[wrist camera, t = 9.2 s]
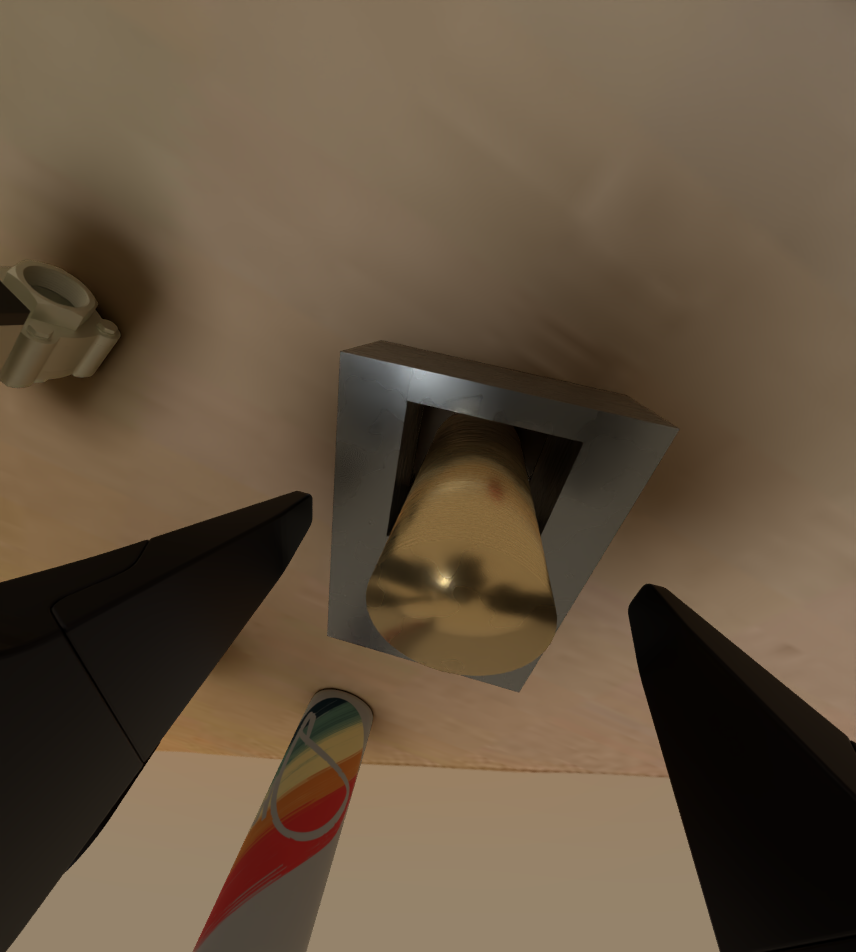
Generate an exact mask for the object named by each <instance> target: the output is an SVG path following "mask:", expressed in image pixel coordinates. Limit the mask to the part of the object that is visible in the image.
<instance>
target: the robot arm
mask: <svg viewBox="0 0 856 952" xmlns="http://www.w3.org/2000/svg"><path fill="white" fill-rule="evenodd" d="M311 523H312V496H311V495H310V494H308V493H304V492H300V491H294V492H291V493H288V494H285V495H282V496H279V497H276V498H273V499H270V500H267V501H264V502H261V503H258V504H255V505H252V506H249V507H245V508H242V509H239V510H236V511H233V512H230V513H227V514H224V515H221V516H218V517H215V518H212V519H209V520H206V521H203V522H199V523H196V524H193V525H190V526H187V527H184V528H181V529H178V530H175V531H172V532H169V533H166V534H163V535H160V536H157V537H154V538H151V539H150V540H144V541H141V542H138V543H135V544H132V545H129V546H126V547H123V548H119V549H116V550H113V551H110V552H107V553H103V554H100V555H97V556H94V557H90V558H87V559H83V560H80V561H76V562H73V563H69V564H66V565H62V566H59V567H55V568H52V569H48V570H44V571H41V572H37V573H33V574H30V575H26V576H22V577H19V578H15V579H11V580H8V581H4V582H0V952H6V951H7V949H8V948H9V947H10V946H11V944H12V943H13V942H14V941H15V939H16V938H17V937H18V935H19V934H20V933H21V931H22V930H23V929H24V927H25V926H26V925H27V923H28V922H29V920H30V919H31V917H32V916H33V915H34V914H35V912H36V911H37V909H38V908H39V907H40V905H41V904H42V903H43V901H44V900H45V898H46V897H47V896H48V894H49V893H50V892H51V890H52V889H53V887H54V886H55V885H56V883H57V882H58V881H59V879H60V878H61V877H62V875H63V874H64V873H65V872H66V871H67V870H68V869H69V868H70V867H71V866H72V865H73V864H74V863H75V862H76V861H77V860H78V859H79V857H80V856H81V855H82V854H83V853H84V852H85V851H86V850H87V848H88V847H89V846H90V845H91V843H92V842H93V841H94V840H95V838H96V837H97V836H98V835H99V833H100V832H101V831H102V829H103V828H104V826H105V825H106V824H107V822H108V821H109V819H110V818H111V816H112V815H113V813H114V812H115V810H116V809H117V807H118V806H119V804H120V803H121V801H122V799H123V798H124V797H125V795H126V794H127V792H128V791H129V789H130V788H131V786H132V784H133V783H134V781H135V780H136V778H137V777H138V775H139V774H140V772H141V771H142V769H143V768H144V766H145V765H146V763H147V762H148V760H149V759H150V757H151V756H152V754H153V753H154V751H155V750H156V748H157V747H158V745H159V744H160V741H161V739H162V738H163V737H164V735H165V734H166V733H167V731H168V730H169V729H170V727H171V726H172V724H173V723H174V722H175V720H176V719H177V718H178V716H179V715H180V714H181V712H182V711H183V709H184V708H185V707H186V705H187V704H188V703H189V701H190V700H191V698H192V697H193V696H194V694H195V693H196V692H197V690H198V689H199V688H200V686H201V685H202V683H203V682H204V681H205V679H206V678H207V677H208V675H209V674H210V672H211V671H212V670H213V668H214V667H215V666H216V664H217V663H218V662H219V660H220V659H221V657H222V656H223V655H224V653H225V652H226V651H227V649H228V648H229V647H230V645H231V644H232V642H233V641H234V640H235V638H236V637H237V636H238V634H239V633H240V631H241V630H242V629H243V627H244V626H245V625H246V623H247V622H248V621H249V619H250V618H251V616H252V615H253V614H254V612H255V611H256V610H257V608H258V607H259V606H260V604H261V603H262V601H263V600H264V599H265V597H266V596H267V595H268V593H269V592H270V590H271V589H272V588H273V586H274V585H275V584H276V582H277V581H278V580H279V578H280V577H281V575H282V574H283V572H284V571H285V569H286V567H287V566H288V564H289V562H290V561H291V559H292V557H293V555H294V554H295V552H296V550H297V548H298V547H299V545H300V543H301V541H302V540H303V538H304V536H305V534H306V533H307V531H308V529H309V527H310V525H311ZM628 615H629V621H630V626H631V631H632V637H633V642H634V648H635V653H636V659H637V664H638V669H639V673H640V677H641V681H642V685H643V688H644V692H645V695H646V698H647V702H648V705H649V709H650V712H651V716H652V719H653V723H654V726H655V730H656V733H657V736H658V740H659V743H660V747H661V750H662V754H663V757H664V761H665V764H666V768H667V771H668V774H669V778H670V781H671V785H672V788H673V792H674V795H675V799H676V802H677V806H678V809H679V812H680V816H681V819H682V823H683V826H684V830H685V833H686V836H687V840H688V844H689V847H690V850H691V853H692V857H693V861H694V864H695V868H696V871H697V875H698V878H699V882H700V885H701V888H702V892H703V895H704V898H705V902H706V906H707V909H708V913H709V916H710V920H711V923H712V926H713V930H714V933H715V937H716V940H717V944H718V947H719V951H720V952H856V743H855V742H854V741H850V740H849V738H848V737H847V736H846V735H845V734H844V733H843V732H842V731H840V730H839V729H838V728H837V727H835V726H834V725H833V724H832V723H831V722H829V721H828V720H827V719H826V718H824V717H823V716H822V715H821V714H819V713H818V712H817V711H816V710H815V709H813V708H812V707H811V706H810V705H808V704H807V703H806V702H805V701H804V700H802V699H801V698H800V697H799V696H797V695H796V694H795V693H794V692H793V691H791V690H790V689H789V688H788V687H786V686H785V685H784V684H783V683H781V682H780V681H779V680H778V679H777V678H775V677H774V676H773V675H772V674H770V673H769V672H768V671H767V670H766V669H764V668H763V667H762V666H761V665H759V664H758V663H757V662H756V661H754V660H753V659H752V658H751V657H750V656H748V655H747V654H746V653H745V652H743V651H742V650H741V649H740V648H739V647H737V646H736V645H735V644H734V643H732V642H731V641H730V640H729V639H728V638H726V637H725V636H724V635H723V634H721V633H720V632H719V631H718V630H716V629H715V628H714V627H713V626H712V625H710V624H709V623H708V622H707V621H705V620H704V619H703V618H702V617H701V616H699V615H698V614H697V613H696V612H694V611H693V610H692V609H691V608H690V607H688V606H687V605H686V604H685V603H683V602H682V601H681V600H680V599H678V598H677V597H676V596H675V595H674V594H672V593H671V592H670V591H669V590H667V589H666V588H664V587H661V586H657V585H653V584H645V585H644V586H643V587H642V588H641V589H640V591H639V592H638V593H637V595H636V596H635V597H634V599H633V600H632V601H631V603H630V605H629V608H628Z"/></svg>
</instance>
